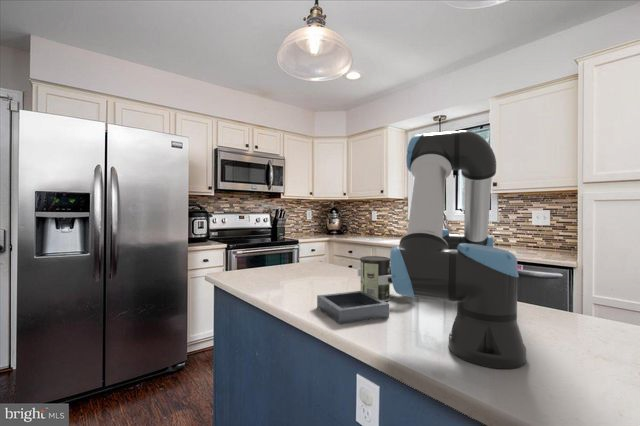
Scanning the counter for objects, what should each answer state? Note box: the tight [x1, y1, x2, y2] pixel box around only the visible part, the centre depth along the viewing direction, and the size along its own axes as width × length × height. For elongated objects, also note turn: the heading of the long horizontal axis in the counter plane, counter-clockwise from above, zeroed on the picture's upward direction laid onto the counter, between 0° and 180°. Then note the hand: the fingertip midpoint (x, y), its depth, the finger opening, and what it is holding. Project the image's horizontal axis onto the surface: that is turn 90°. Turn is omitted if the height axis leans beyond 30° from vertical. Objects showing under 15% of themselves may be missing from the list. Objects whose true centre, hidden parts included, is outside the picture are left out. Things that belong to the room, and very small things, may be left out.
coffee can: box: [359, 255, 391, 303], centre depth 112 cm, size 10×10×14 cm
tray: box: [316, 290, 390, 325], centre depth 98 cm, size 16×16×4 cm
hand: (367, 276), depth 111 cm, fingers open, 13 cm apart
